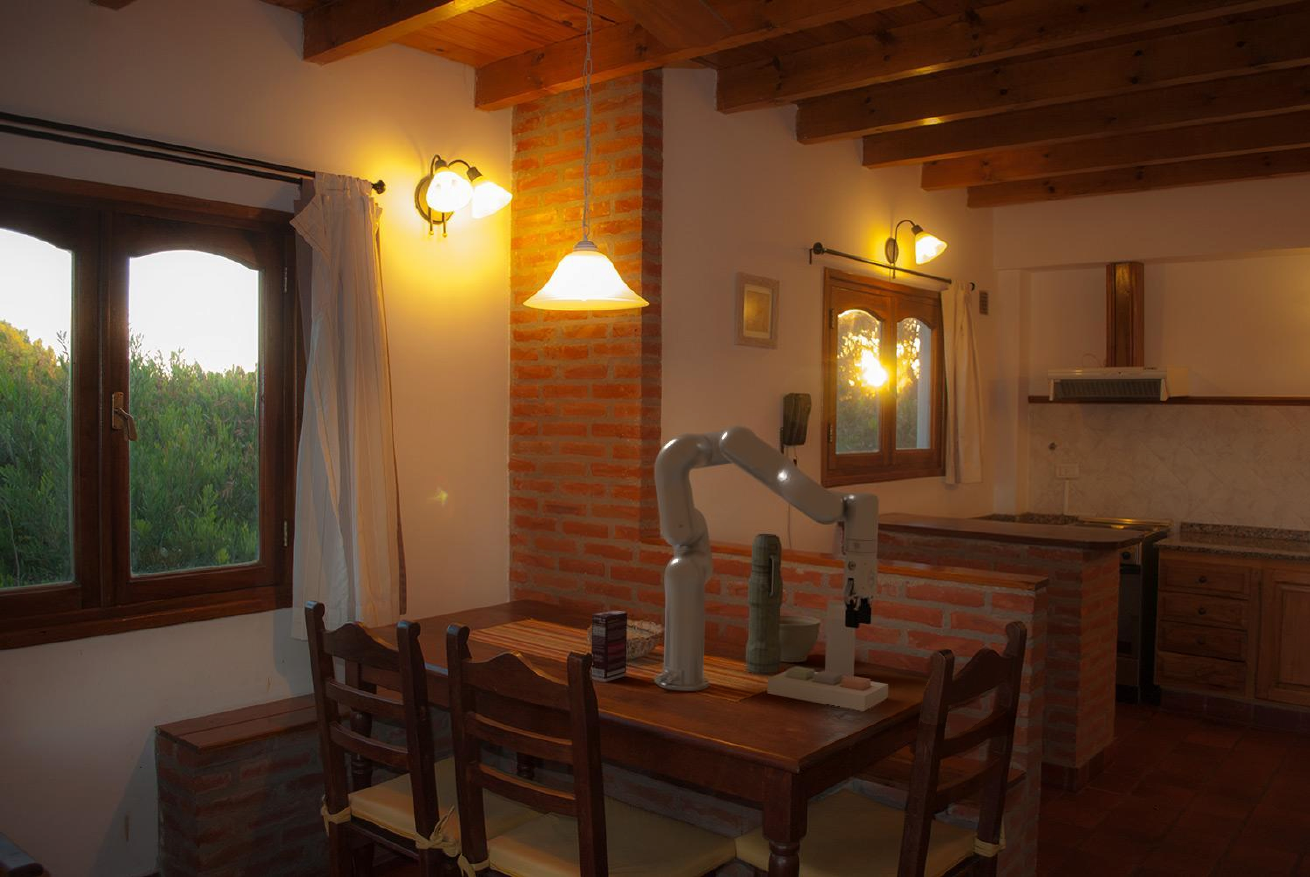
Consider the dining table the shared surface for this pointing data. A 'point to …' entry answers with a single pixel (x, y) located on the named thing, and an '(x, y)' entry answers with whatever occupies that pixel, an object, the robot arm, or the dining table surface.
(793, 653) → the planter bowl
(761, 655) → the thermos
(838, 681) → the grey key
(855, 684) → the terracotta key
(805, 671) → the sage key
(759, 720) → the dining table surface
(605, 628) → the supplement box
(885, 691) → the keypad
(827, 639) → the milk carton
